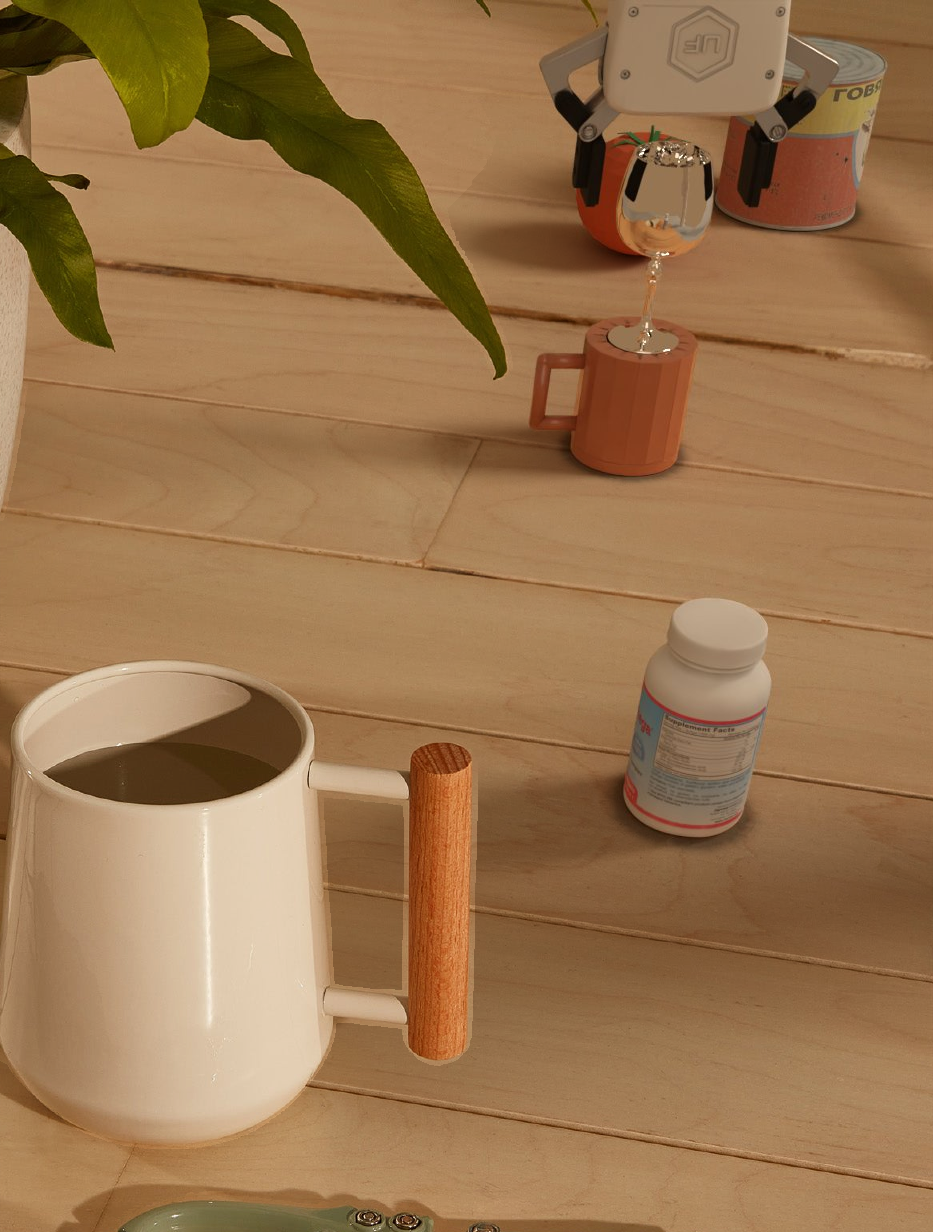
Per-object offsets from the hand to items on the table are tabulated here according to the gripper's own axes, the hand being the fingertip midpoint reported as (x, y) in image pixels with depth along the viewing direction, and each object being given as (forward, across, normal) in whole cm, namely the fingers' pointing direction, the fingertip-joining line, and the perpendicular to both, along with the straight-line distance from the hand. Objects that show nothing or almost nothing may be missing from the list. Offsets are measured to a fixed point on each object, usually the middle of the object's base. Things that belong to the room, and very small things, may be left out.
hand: (667, 199), depth 125 cm
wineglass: (+10, 0, 0) cm, 10 cm away
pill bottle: (+18, -3, -39) cm, 43 cm away
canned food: (+17, +20, +44) cm, 51 cm away
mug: (+17, -2, 0) cm, 17 cm away
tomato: (+17, +6, +34) cm, 39 cm away
